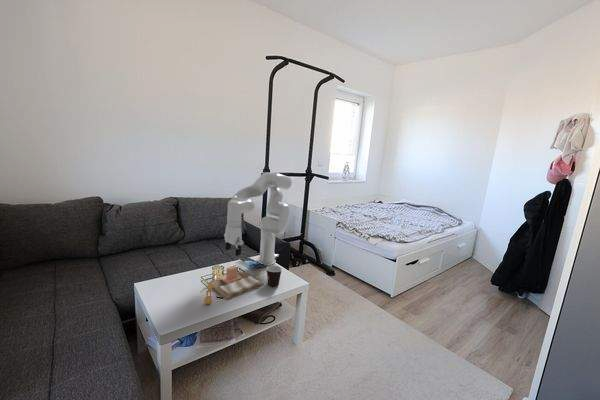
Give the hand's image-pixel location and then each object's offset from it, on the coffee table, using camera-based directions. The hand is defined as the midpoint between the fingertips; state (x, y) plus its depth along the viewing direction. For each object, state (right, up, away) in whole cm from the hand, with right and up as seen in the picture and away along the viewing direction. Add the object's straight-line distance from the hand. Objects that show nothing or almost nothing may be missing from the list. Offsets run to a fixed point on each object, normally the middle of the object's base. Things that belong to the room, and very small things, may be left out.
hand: (233, 252), depth 155 cm
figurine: (-7, -22, -19) cm, 30 cm away
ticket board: (+2, -19, +1) cm, 19 cm away
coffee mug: (+22, -20, +7) cm, 30 cm away
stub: (-2, -16, +4) cm, 17 cm away
